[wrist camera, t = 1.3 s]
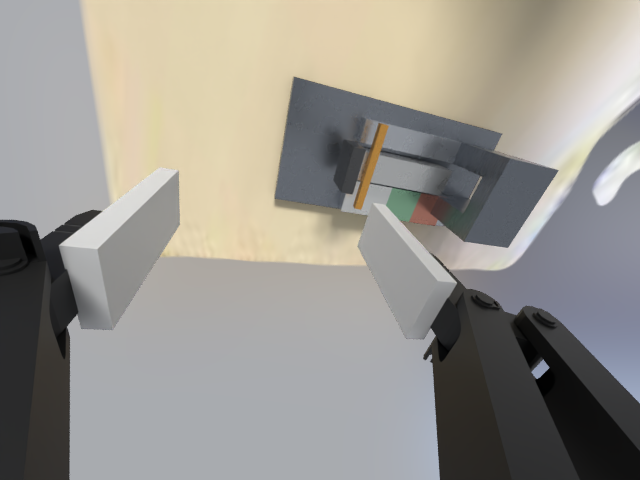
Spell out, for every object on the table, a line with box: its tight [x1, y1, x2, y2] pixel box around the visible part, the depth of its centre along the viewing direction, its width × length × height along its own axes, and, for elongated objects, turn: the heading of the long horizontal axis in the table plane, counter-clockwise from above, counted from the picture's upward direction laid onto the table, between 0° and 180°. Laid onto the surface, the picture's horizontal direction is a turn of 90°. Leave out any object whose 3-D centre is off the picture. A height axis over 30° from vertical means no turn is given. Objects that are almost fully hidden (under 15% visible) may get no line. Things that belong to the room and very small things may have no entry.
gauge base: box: [275, 77, 559, 248], centre depth 29 cm, size 13×26×10 cm, turn 77°
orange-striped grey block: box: [333, 123, 452, 210], centre depth 30 cm, size 9×13×6 cm
